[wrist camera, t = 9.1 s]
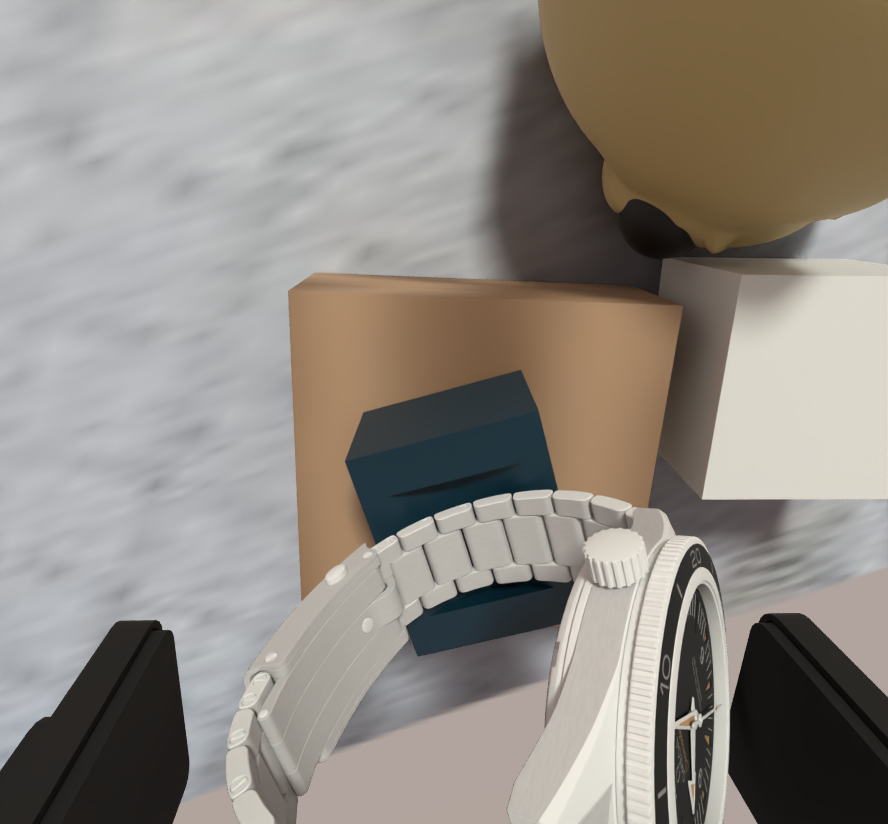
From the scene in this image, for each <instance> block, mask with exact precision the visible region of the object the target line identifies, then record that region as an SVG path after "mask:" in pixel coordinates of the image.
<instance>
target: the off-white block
mask: <svg viewBox="0 0 888 824" xmlns="http://www.w3.org/2000/svg"><path fill="white" fill-rule="evenodd" d="M658 296H660V297H662V298H665V299H667V300H670V301H672V302H675V303H677V304H680V305H682V306H683V310H682V316H681V321H680V327H679V333H678V339H677V344H676V350H675V356H674V361H673V367H672V373H671V378H670V384H669V390H668V396H667V401H666V407H665V413H664V418H663V424H662V430H661V435H660V441H659V447H658V454H659V455H660V456H661V457H662V458H663V459H664V460H665V461H666V462H667V463H668V464H669V465H670V466H671V467H672V468H673V469H674V471H675V472H676V473H677V474H678V475H679V476H680V477H681V478H682V479H683V480H684V481H685V482H686V483H687V484H688V485H689V486H690V488H691V489H692V490H693V491H694V492H695V493H696V494H697V495H698V496H699V497H700V498H701V499H702V500H728V499H888V265H887V264H880V263H872V262H865V261H857V260H850V259H786V258H706V257H673V258H667V259H663V264H662V272H661V279H660V287H659V294H658Z"/></svg>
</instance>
